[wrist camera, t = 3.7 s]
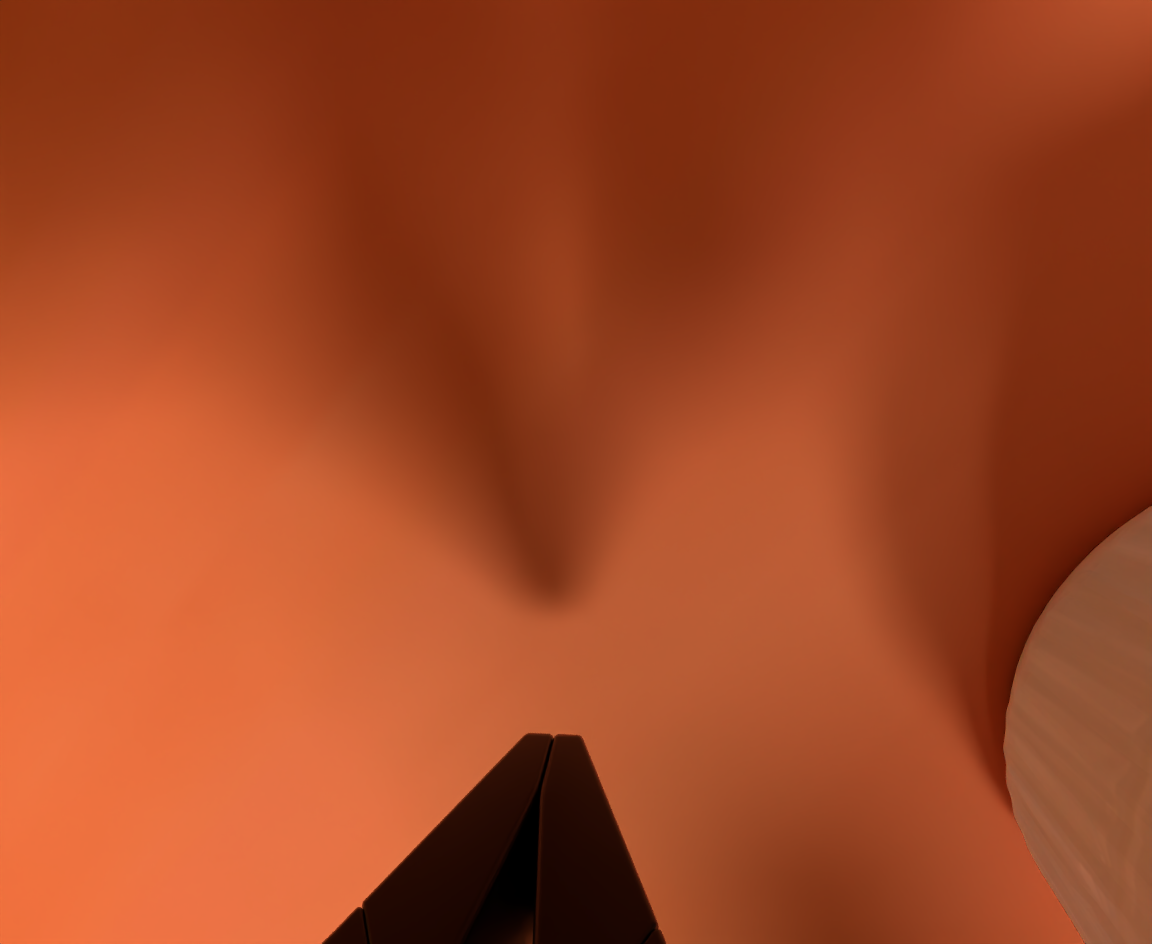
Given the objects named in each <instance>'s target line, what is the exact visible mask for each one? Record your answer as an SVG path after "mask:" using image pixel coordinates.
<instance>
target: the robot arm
mask: <svg viewBox="0 0 1152 944" xmlns="http://www.w3.org/2000/svg"><path fill="white" fill-rule="evenodd" d="M322 944H666V941H665V939H664V936H663V934H662V932H661V930H659V926H658V923H657V920H656V918H655V915H654V913H653V910H652V908H651V905H650V903H649V900H648V898H647V895H646V893H645V890H644V888H643V886H642V883H641V881H640V878H639V876H638V873H637V871H636V868H635V866H634V863H633V861H632V858H631V856H630V853H629V851H628V849H627V846H626V844H625V841H624V839H623V836H622V834H621V831H620V829H619V826H618V824H617V821H616V819H615V817H614V814H613V812H612V809H611V807H610V804H609V802H608V799H607V797H606V794H605V792H604V789H603V787H602V784H601V782H600V780H599V777H598V775H597V772H596V770H595V767H594V765H593V762H592V760H591V757H590V755H589V752H588V750H587V747H586V745H585V743H584V740H583V738H582V737H581V736H580V735H566V734H558V735H556V736H555V737H554V738H553V736H552V735H551V734H542V733H528V734H526V735H524V736H523V737H522V738H521V739H520V740H519V741H518V742H517V743H516V745H515V746H514V747H513V748H512V749H511V750H510V751H509V752H508V753H507V754H506V755H505V756H504V757H503V758H502V759H501V760H500V761H499V762H498V763H497V764H496V765H495V766H494V767H493V768H492V769H491V770H490V771H489V772H488V773H487V774H486V775H485V776H484V778H483V779H482V780H481V781H480V782H479V783H478V784H477V785H476V786H475V787H474V788H473V789H472V790H471V791H470V792H469V793H468V794H467V795H466V796H465V797H464V798H463V799H462V800H461V801H460V802H459V803H458V804H457V805H456V806H455V807H454V808H453V810H452V811H451V812H450V813H449V814H448V815H447V816H446V817H445V818H444V819H443V820H442V821H441V822H440V823H439V824H438V825H437V826H436V827H435V828H434V829H433V830H432V831H431V832H430V833H429V834H428V835H427V836H426V837H425V838H424V839H423V840H422V841H421V843H420V844H419V845H418V846H417V847H416V848H415V849H414V850H413V851H412V852H411V853H410V854H409V855H408V856H407V857H406V858H405V859H404V860H403V861H402V862H401V863H400V864H399V865H398V866H397V867H396V868H395V869H394V870H393V871H392V872H391V873H390V875H389V876H388V877H387V878H386V879H385V880H384V881H383V882H382V883H381V884H380V885H379V886H378V887H377V888H376V889H375V890H374V891H373V892H372V893H371V894H370V895H369V896H368V897H367V898H366V899H365V900H364V901H363V903H362V908H361V907H358V908H356V909H355V910H354V911H353V912H352V913H351V914H350V915H349V916H348V917H347V918H346V920H345V921H344V922H343V923H342V924H341V925H340V926H339V927H338V928H337V929H336V930H335V931H334V932H333V933H332V934H331V935H330V936H329V937H328V938H327V939H326V940H325V941H324V942H323V943H322Z"/></svg>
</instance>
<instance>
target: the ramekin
mask: <svg viewBox="0 0 1152 944" xmlns="http://www.w3.org/2000/svg"><path fill="white" fill-rule="evenodd" d="M1003 751H1004V756H1005V761H1006V783H1007V788H1008V790H1009V793H1010V796H1011V800H1012V808H1013V814H1014V817H1015V820H1016V822H1017V824H1018V826H1019V827H1020V829H1021V831H1022V833H1023V836H1024V839H1025V842H1026V845H1027V848H1028V850H1029V852H1030V853H1031V855H1032V857H1033V859H1034V861H1035V862H1036V864H1037V866H1038V868H1039V870H1040V871H1041V873H1042V874H1043V876H1044V878H1045V879H1046V881H1047V882H1048V884H1049V886H1050V887H1051V889H1052V890H1053V892H1054V894H1055V895H1056V897H1057V899H1058V900H1059V902H1060V903H1061V905H1062V907H1063V908H1064V910H1065V911H1066V913H1067V915H1068V916H1069V918H1070V919H1071V921H1072V923H1073V924H1074V926H1075V927H1076V929H1077V931H1078V933H1079V934H1080V936H1081V938H1082V939H1083V941H1084V943H1085V944H1152V506H1150V507H1148V508H1147V509H1145V510H1144V511H1142V512H1141V513H1139V514H1138V515H1137V516H1135V517H1134V518H1132V519H1131V520H1129V521H1128V522H1126V523H1125V524H1124V525H1122V526H1121V527H1120V528H1118V529H1117V530H1116V531H1114V532H1113V533H1112V534H1111V535H1109V536H1108V537H1107V538H1106V539H1105V540H1104V541H1103V542H1101V543H1100V544H1099V545H1098V546H1097V547H1096V548H1095V549H1093V550H1092V551H1091V553H1090V554H1089V555H1088V556H1087V557H1086V558H1085V559H1084V560H1083V561H1082V562H1081V563H1080V564H1079V565H1078V566H1077V567H1076V568H1075V569H1074V570H1073V571H1072V573H1071V574H1070V575H1069V576H1068V577H1067V579H1066V580H1065V581H1064V582H1063V583H1062V585H1061V586H1060V587H1059V588H1058V590H1057V591H1056V592H1055V594H1054V595H1053V597H1052V598H1051V599H1050V601H1049V602H1048V604H1047V605H1046V607H1045V609H1044V610H1043V612H1042V614H1041V615H1040V617H1039V618H1038V620H1037V622H1036V623H1035V625H1034V627H1033V629H1032V631H1031V633H1030V635H1029V637H1028V639H1027V641H1026V644H1025V646H1024V649H1023V652H1022V654H1021V657H1020V660H1019V662H1018V665H1017V669H1016V673H1015V676H1014V681H1013V685H1012V689H1011V695H1010V701H1009V704H1008V707H1007V710H1006V731H1005V738H1004V744H1003Z"/></svg>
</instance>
